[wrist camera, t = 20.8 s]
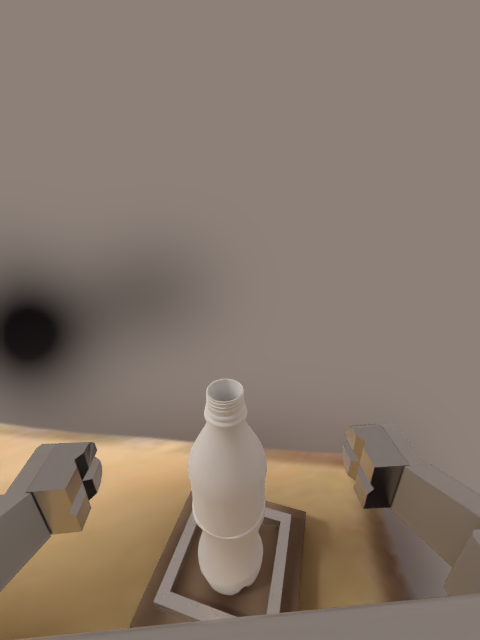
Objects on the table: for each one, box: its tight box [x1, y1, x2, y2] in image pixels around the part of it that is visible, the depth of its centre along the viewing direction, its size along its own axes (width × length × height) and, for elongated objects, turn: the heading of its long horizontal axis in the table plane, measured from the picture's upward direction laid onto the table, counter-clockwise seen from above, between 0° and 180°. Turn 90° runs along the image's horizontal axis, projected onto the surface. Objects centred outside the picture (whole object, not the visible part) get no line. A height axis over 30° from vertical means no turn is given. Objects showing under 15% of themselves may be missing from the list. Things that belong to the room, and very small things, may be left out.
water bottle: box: [188, 379, 267, 595], centre depth 28 cm, size 7×7×25 cm
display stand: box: [130, 490, 306, 628], centre depth 34 cm, size 16×16×4 cm
